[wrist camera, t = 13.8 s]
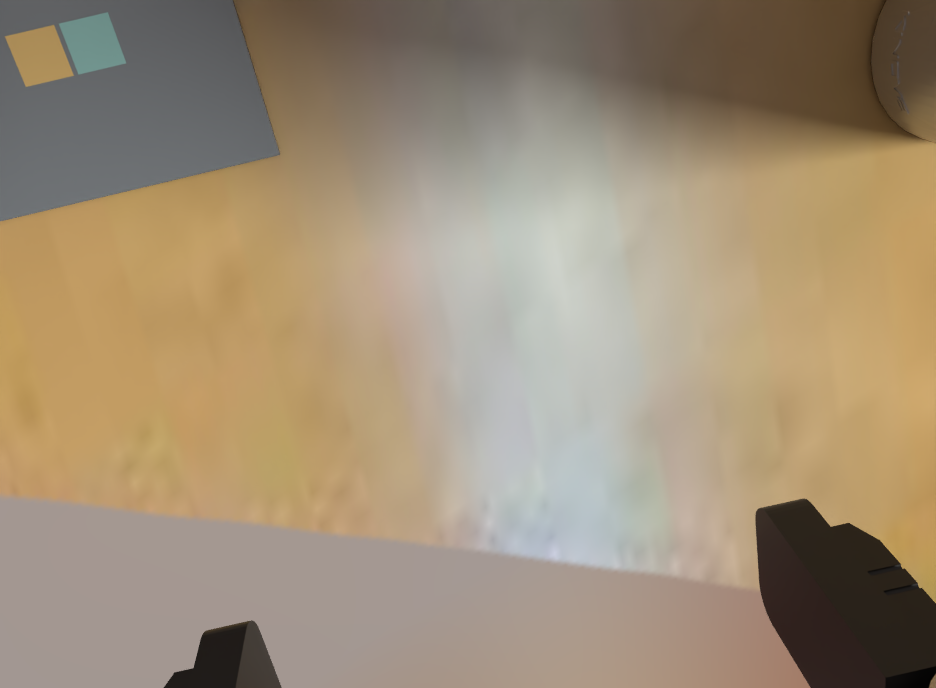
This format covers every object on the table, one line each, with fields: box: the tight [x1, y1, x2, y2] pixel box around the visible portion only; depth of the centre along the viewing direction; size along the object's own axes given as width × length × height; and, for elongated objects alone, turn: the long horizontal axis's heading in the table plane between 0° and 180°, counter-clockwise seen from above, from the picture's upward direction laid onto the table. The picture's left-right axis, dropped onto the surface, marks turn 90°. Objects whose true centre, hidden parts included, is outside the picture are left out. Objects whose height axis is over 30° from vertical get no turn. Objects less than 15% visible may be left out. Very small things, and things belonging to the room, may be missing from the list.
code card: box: [0, 0, 280, 221], centre depth 35 cm, size 14×12×1 cm
